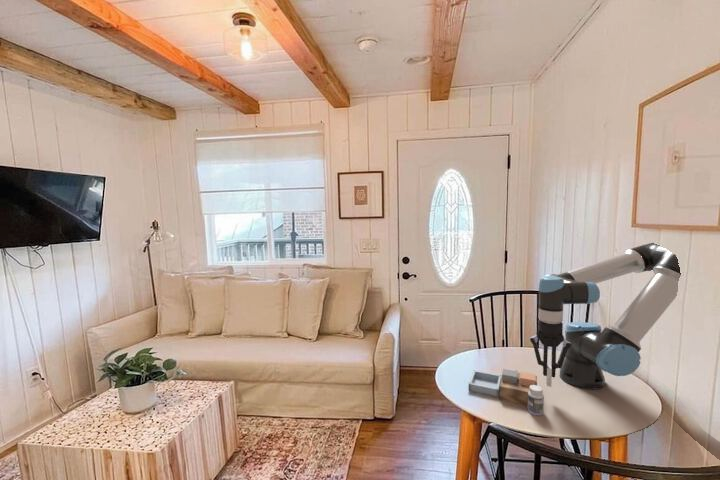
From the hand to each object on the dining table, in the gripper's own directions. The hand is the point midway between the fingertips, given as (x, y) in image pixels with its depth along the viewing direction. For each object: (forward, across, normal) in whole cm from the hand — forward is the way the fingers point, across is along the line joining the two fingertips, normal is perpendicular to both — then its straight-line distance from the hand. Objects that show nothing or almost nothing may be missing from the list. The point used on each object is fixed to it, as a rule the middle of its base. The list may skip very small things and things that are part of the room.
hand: (548, 384), depth 120 cm
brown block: (+6, +10, 0) cm, 11 cm away
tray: (+6, +22, 0) cm, 22 cm away
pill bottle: (+6, +4, +10) cm, 12 cm away
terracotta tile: (+1, +7, 0) cm, 7 cm away
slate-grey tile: (+1, +13, 0) cm, 13 cm away
